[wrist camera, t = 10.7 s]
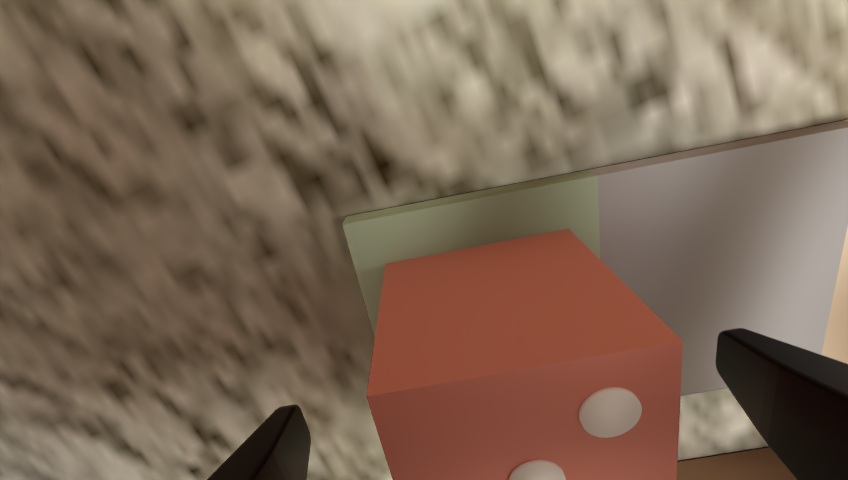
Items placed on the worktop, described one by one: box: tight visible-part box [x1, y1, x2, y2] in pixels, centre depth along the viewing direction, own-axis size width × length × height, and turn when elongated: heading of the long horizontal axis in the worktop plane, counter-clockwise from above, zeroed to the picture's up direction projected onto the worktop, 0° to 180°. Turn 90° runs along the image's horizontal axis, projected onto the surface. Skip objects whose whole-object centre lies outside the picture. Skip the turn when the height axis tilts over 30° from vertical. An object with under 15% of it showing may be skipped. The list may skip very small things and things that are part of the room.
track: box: [342, 120, 848, 396], centre depth 11 cm, size 18×7×1 cm, turn 101°
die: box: [366, 229, 683, 480], centre depth 9 cm, size 4×4×5 cm
